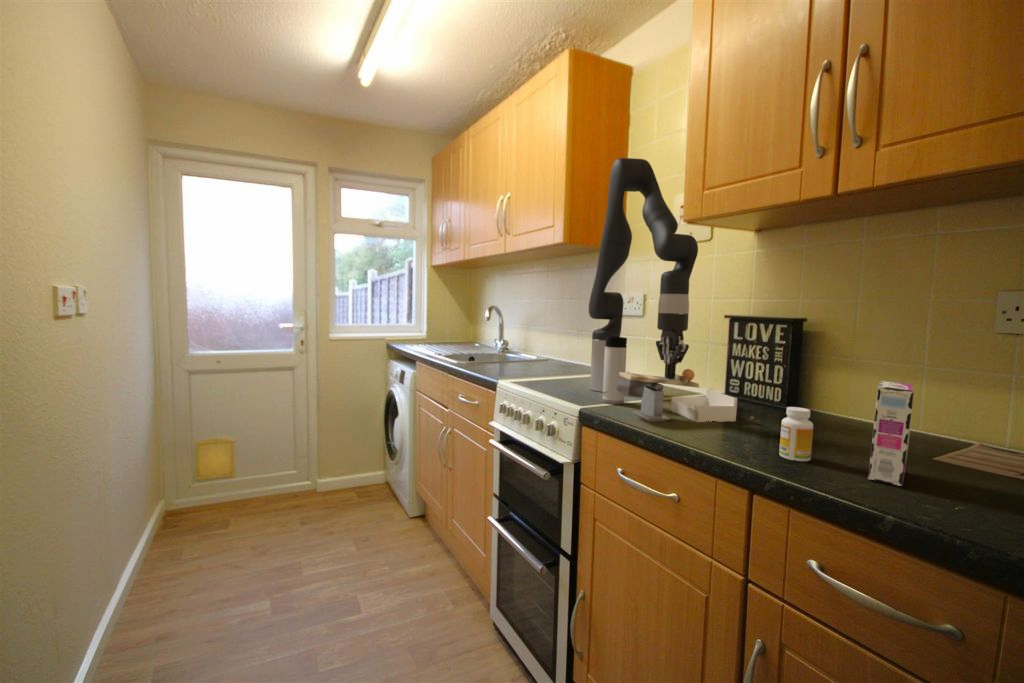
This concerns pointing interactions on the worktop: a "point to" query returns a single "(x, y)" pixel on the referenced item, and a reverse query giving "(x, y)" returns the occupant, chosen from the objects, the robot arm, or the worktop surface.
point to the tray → (706, 407)
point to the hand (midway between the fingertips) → (669, 378)
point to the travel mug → (613, 368)
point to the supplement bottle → (796, 435)
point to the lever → (635, 382)
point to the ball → (688, 374)
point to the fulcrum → (652, 402)
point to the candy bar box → (891, 432)
